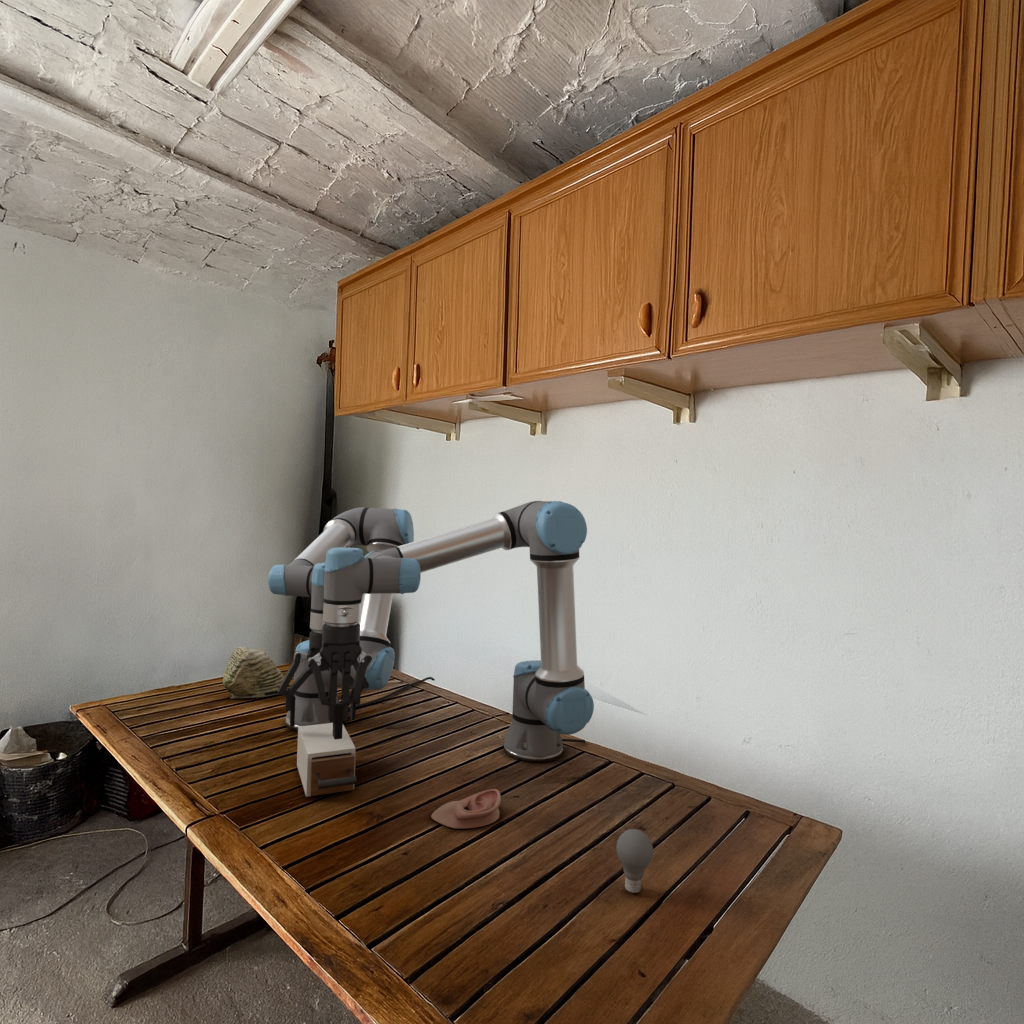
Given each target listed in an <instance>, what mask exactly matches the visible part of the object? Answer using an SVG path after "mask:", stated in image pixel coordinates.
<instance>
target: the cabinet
mask: <svg viewBox="0 0 1024 1024" xmlns="http://www.w3.org/2000/svg"><path fill="white" fill-rule="evenodd" d="M332 734H333V723H327V724H317V725H308V726H299V727H298V731H297V750H296V751H297V752H296V766H297V771H298V774H299V777H300V780H301V781H300V782H301V784H302V787H303V788H302V789H303V791H304V795H305V797H306V798H308V797H311V796H310V775H311V760H312V758H314V757H322V756H329V755H337V754H345V753H348V755H352V754H354V756H355V757H356V754H357V753H356V752H357V748H356V745H355V744H354V742H353V740H352V738H351V736H350V735H349V733H348V731H347V729H346V727H345V725H344V724H343V728H342V739H334V737H333V735H332ZM354 776H356V760H355V761H354ZM352 791H355V785H354V786H353V790H352ZM341 792H343V791H341ZM341 792H340V793H341ZM328 794H330V793H328ZM328 794H327V795H328ZM322 795H323V794H321V795H320V796H322ZM315 796H317V795H315ZM315 796H314V797H315Z"/></svg>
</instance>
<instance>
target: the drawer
mask: <svg viewBox="0 0 1024 1024" xmlns="http://www.w3.org/2000/svg"><path fill="white" fill-rule="evenodd" d="M354 761H355V762H356V756H354V754H352V755H348V753H345V754H337V755H329V756H322V757H314V758H312V760H311V775H310V796H309V797H315V795H316V796H322V795H328V793H329V794H335V793H341V791H342V792H348V791H354V790H353V786H354V787H355V785H357V776H356V775H355V776H354ZM321 794H322V795H321Z"/></svg>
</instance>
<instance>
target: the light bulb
mask: <svg viewBox="0 0 1024 1024" xmlns="http://www.w3.org/2000/svg"><path fill="white" fill-rule="evenodd" d="M615 849H616V854H617V857H618V859H619V861H620V863H621V865H622V867H623V873H624V874H623V875H624V876H625V878H624V888H625V890H627V891H628V892H630V893H634V894H635V893H639V892H640V891H641V889H642V887H641V886H642V879H643V877H644V875H645V871H646V868H647V867H648V866H649V864H650V863H651V861H652V859H653V855H654V847H653V843H652V841H651V838H649V836H648V835H647V834H646V833H645V832H643V831H642V830H641V829H636V828H629V829H627V830H625V831H623V832H622V833H621V834H620V835H619V837H618V839H617V841H616V847H615Z"/></svg>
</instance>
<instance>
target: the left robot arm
mask: <svg viewBox="0 0 1024 1024" xmlns="http://www.w3.org/2000/svg"><path fill="white" fill-rule="evenodd" d="M414 537H415V530H414V522H413V517H412V514H411V513H410V512H409V511H408V510H406V509H401V508H399V509H398V508H396V507H395V508H382V507H381V508H380V507H364V506H363V507H362V506H361V507H354V508H351V509H348V510H346V511H343V512H341V513H340V514H337V515H336V516H334V517H333V518H332V519H330V520H329V521H328V522H327V523H326V524H325V526H324V527H323V530H322V532H321V533H320V534H319V535H318V536H317V537H316V538H315V539H314V540H313V541H312V542H311V543H310V544H309V545H308V546H307V547H306V548H304V550H303V551H302V552H300V554H299V555H298V556H297V557H295V559H293V560H292V561H291V562H290V563H289V564H285V563H282V564H275V565H273V566H272V567H271V569H270V570H269V573H268V578H267V584H268V589H269V591H270V592H271V593H272V594H274V595H278V596H284V597H289V596H290V597H308V598H311V599H310V600H311V601H310V617H309V618H310V621H309V629H311V631H310V632H309V637H308V639H307V640H304V641H302V642H300V643H298V644H297V645H296V647H295V652H294V653H293V659H292V662H291V664H290V666H289V667H288V669H287V671H286V673H285V675H283V676H284V678H283V680H282V682H281V684H280V686H279V687H278V694H277V695H279V696H283V697H285V700H284V701H285V705H284V708H285V710H286V712H287V713H286V715H285V726H286V728H287V729H289V730H291V731H294V732H295V731H296V732H298V727H299V726H308V725H317V724H327V723H330V722H329V719H328V706H327V705H322V704H321V702H320V700H319V695H318V691H317V686H316V682H315V677H314V672H313V669H312V667H311V666H310V664H309V662H308V658H309V657H314V656H315V655H316V654H318V653H319V649H320V648H321V645H322V628H323V625H324V624H325V622H324V621H323V606H324V569H325V562H326V553H327V551H328V550H329V549H331V548H338V547H347V548H351V547H352V546H366V547H365V548H366V551H367V552H368V553H370V552H373V551H377V550H378V551H384V550H387V549H391V548H395V547H398V546H401V545H405V544H408V543H411V542H415V541H414V540H415V538H414ZM393 597H394V593H379V594H362V596H361V620H360V621H359V622H357V623H359V625H360V646H361V648H362V651H363V652H365V653H368V654H369V655H370V656H371V657H372V660H371V662H370V663H369V665H368V666H367V669H366V672H365V676H364V679H363V683H362V687H361V690H360V694H359V697H358V700H357V702H353V703H351V704H350V705H349V707H348V710H349V719H350V720H351V721H356V712H357V708H361V707H365V706H367V705H371V704H374V703H377V702H379V701H383V700H385V699H387V698H390V697H392V696H394V695H396V694H397V693H399V692H402V691H404V690H406V689H407V688H410V687H412V686H415V685H419V684H421V683H423V682H426V681H428V680H431V681H436V679H435V678H434V677H432V676H428V677H425V678H422V679H421V680H417V681H414V682H412V683H409V684H407V685H405V686H403V687H401V688H399V689H397V690H394V691H392V692H390V693H388V694H386V695H383V696H381V697H379V698H376V699H372V700H369V701H366V702H363V703H361V699H362V697H361V696H362V695H361V694H362V691H363V690H364V691H379V690H382V689H384V688H385V687H386V686H387V684H388V683H389V681H390V678H391V677H392V673H393V671H394V666H395V657H396V653H395V650H394V648H393V647H391V641H390V640H389V639H388V637H387V633H388V627H389V621H390V615H391V610H392V609H391V608H392V604H393ZM359 662H360V661H359V657H358V658H357V659H356V661H355V662H354V663H353V665H352V666H351V673H350V690H352V686H353V683H354V679H355V676H356V672H357V668H358V665H359ZM319 668H320V671H321V675H322V680H323V684H324V689H325V694H326V697H327V698H328V694H329V667H328V665H327V664H326V663H325V661H324V660H323V659H322V658H321V665H320V666H319ZM292 680H293V682H292V683H291V681H292ZM290 683H291V684H290ZM341 686H342V668H339V669H338V674H337V689H338V688H340V689H341ZM337 703H341V701H340V699H339V695H338V694H337V696H336V704H337ZM331 723H333V722H331Z"/></svg>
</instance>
